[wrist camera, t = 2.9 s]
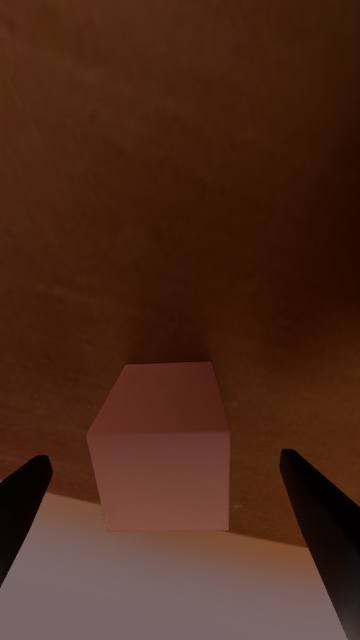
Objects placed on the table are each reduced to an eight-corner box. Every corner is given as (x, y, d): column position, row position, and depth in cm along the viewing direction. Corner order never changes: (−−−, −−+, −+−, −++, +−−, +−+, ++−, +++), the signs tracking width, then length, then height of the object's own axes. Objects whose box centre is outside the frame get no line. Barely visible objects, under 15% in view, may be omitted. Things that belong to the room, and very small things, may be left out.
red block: (135, 433, 12) (107, 532, 7) (125, 364, 11) (84, 435, 6) (212, 431, 12) (229, 531, 7) (211, 360, 10) (231, 431, 6)
